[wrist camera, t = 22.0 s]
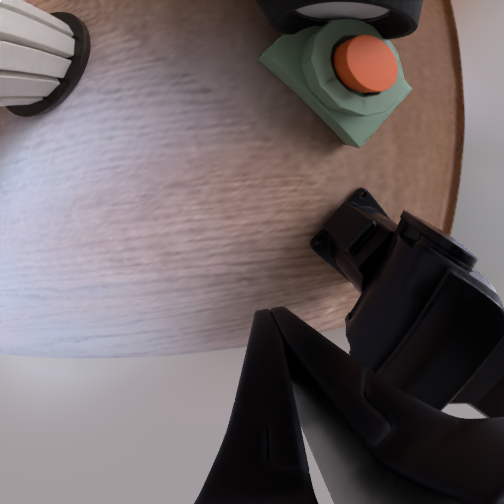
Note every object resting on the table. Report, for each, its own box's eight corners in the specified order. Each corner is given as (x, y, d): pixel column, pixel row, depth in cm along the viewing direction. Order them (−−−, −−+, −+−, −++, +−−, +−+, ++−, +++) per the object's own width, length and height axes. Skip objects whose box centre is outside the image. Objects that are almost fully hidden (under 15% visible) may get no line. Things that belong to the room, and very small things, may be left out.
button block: (395, 89, 17) (428, 89, 14) (345, 144, 19) (373, 152, 15) (318, 6, 13) (342, -12, 10) (256, 59, 15) (269, 46, 12)
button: (391, 71, 13) (407, 70, 12) (360, 103, 14) (376, 103, 13) (355, 30, 12) (369, 24, 10) (321, 61, 13) (333, 56, 11)
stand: (113, 36, 13) (83, 14, 8) (48, 134, 15) (5, 144, 10) (47, 4, 9) (13, -15, 4) (-8, 92, 11) (-50, 95, 6)
